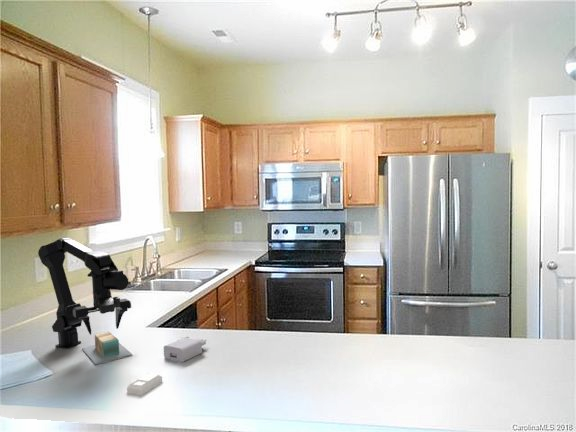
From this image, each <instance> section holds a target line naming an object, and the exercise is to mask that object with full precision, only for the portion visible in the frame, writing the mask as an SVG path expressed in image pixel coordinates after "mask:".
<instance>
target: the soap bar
mask: <svg viewBox="0 0 576 432" xmlns="http://www.w3.org/2000/svg"><path fill="white" fill-rule="evenodd" d="M162 382H163V376H162V375H159V374H156V373H146V374H144V375H143V376H141V377H139V378H138V379H136V380H135V381H133V382H131V383H130V384H129V385H128V386H127V387H126V393H127V394H132V395H137V396H138V395H139V396H143V395H144V394H146V393H147V392H148V391H150V390H151V389H153V388H155V387H156V386H158V385H159V384H161V383H162Z"/></svg>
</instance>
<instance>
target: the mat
mask: <svg viewBox="0 0 576 432" xmlns="http://www.w3.org/2000/svg"><path fill="white" fill-rule="evenodd" d="M81 349H82V351H83V352H84V353H85V354H86V356H87V357H88V359H90V361H91V363H93V364H94V365H95V366H96V365H97V366H98V365H101V364H104V363H108V362H113V361H116V360H120V359H123V358H127V357H132V356H133V353H132V352H130V351H129V350H128V349H127V348H126V347H125V346H123V345H122V344H121V343H120V342H119V354H117V355H113V356H109V357H105V358H104V357H103V356H102V355H101V354H100V352H99V351H98V350H97V349H96V348H95V344H93V345H88V346H85V347H82V348H81Z"/></svg>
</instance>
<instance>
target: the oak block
mask: <svg viewBox="0 0 576 432" xmlns="http://www.w3.org/2000/svg"><path fill="white" fill-rule="evenodd" d="M119 343H120V342H119V339H118V337H116V335H114V334H112V333H111V331H105V332H104V331H103V332H100V333H96V334H94V345H95V348H96V349H97V350H98V351H99V352H100V354H101V355H102V356H103V357H104V358H105V357H109V356H113V355H117V354H119Z"/></svg>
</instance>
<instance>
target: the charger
mask: <svg viewBox="0 0 576 432" xmlns="http://www.w3.org/2000/svg"><path fill="white" fill-rule="evenodd" d="M181 338H182V339H180V338H179V339H180V340H179V339H177V340H176V341H173V342H170V343H168V344H166V345H164V346H163V357H164V359H166V358H167V360H170V359H171V360H172V361H175V360H176V361H175V362H179V361H180V363H184V362H186V361H188V360H189V359H192V358H195V357H196V356H199V355H200V354H202V352H203V346H205V345H206V344H207V342H206V341H207V339H203V338H198V337H197V338H195V339H193V338H190V337H189V338H183V337H181Z"/></svg>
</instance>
